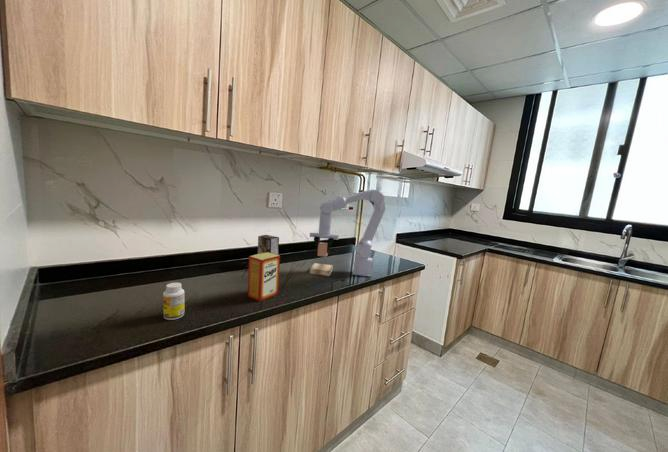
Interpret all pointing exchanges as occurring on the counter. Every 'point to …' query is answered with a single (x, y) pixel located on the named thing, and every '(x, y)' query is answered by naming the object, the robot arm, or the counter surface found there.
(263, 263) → the baking soda box
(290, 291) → the counter surface
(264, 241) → the grey tall block
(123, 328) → the counter surface
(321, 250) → the pinkish brown block
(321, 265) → the oak block
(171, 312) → the supplement bottle
